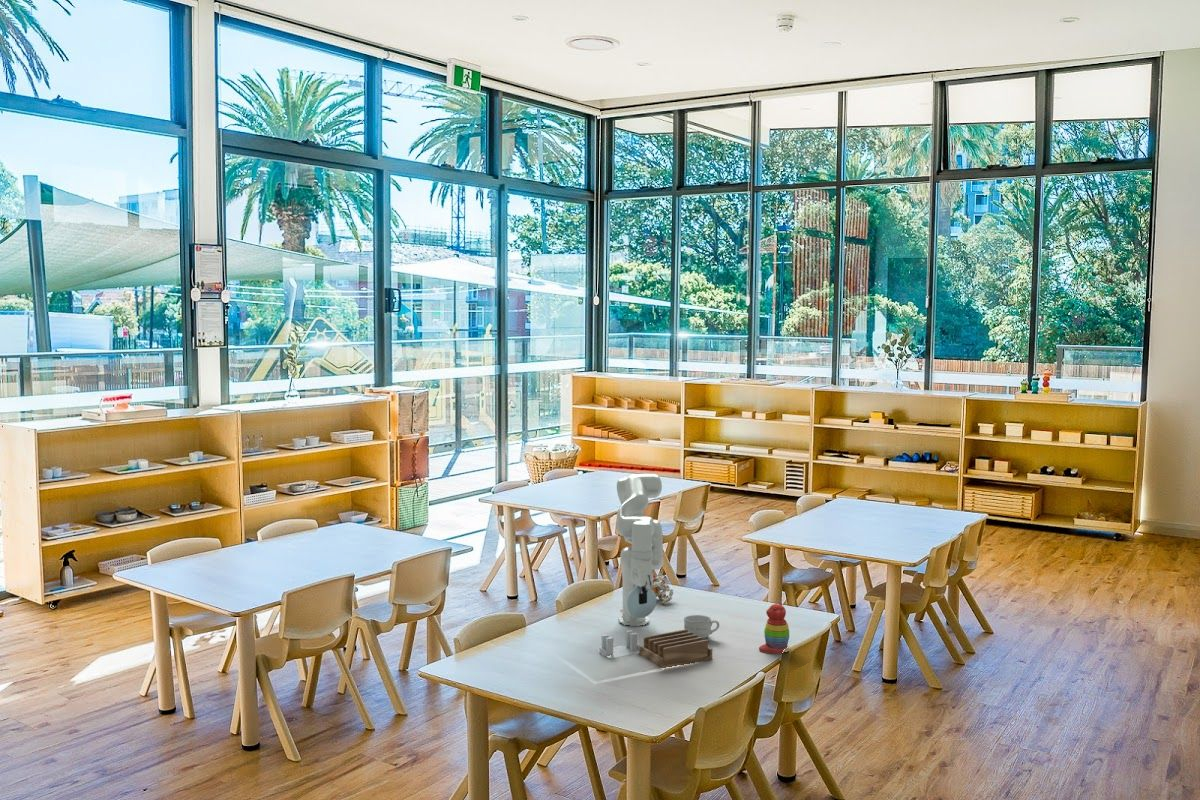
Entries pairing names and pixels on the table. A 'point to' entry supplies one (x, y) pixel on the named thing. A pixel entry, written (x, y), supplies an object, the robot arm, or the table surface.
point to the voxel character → (661, 588)
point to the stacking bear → (775, 630)
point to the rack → (675, 648)
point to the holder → (623, 650)
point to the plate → (637, 608)
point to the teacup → (700, 625)
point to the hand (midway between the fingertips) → (641, 602)
